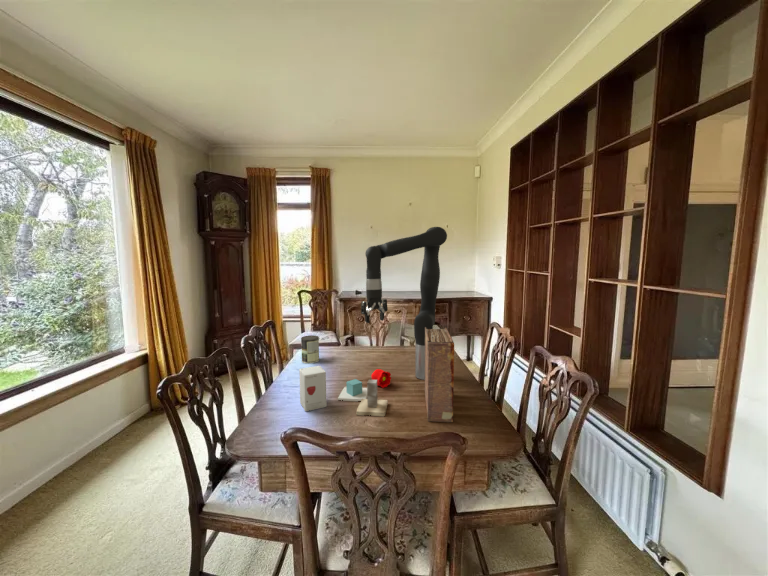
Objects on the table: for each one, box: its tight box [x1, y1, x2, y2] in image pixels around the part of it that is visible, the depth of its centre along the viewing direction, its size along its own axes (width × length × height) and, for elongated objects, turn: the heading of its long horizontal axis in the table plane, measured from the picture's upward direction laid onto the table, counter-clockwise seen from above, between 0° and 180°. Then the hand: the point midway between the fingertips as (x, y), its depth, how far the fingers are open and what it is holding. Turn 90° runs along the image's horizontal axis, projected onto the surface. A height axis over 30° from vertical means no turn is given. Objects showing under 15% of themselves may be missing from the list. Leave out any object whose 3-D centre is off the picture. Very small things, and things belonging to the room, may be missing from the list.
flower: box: [371, 368, 392, 389], centre depth 150 cm, size 8×8×8 cm
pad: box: [337, 386, 367, 402], centre depth 140 cm, size 12×12×1 cm
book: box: [424, 327, 455, 423], centre depth 127 cm, size 25×9×30 cm, turn 175°
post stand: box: [355, 379, 389, 417], centre depth 126 cm, size 11×11×12 cm
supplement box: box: [299, 365, 327, 412], centre depth 130 cm, size 9×9×15 cm
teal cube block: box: [345, 378, 363, 396], centre depth 139 cm, size 5×5×5 cm
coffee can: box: [300, 335, 320, 364], centre depth 187 cm, size 10×10×14 cm
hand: (374, 321), depth 153 cm, fingers open, 8 cm apart
